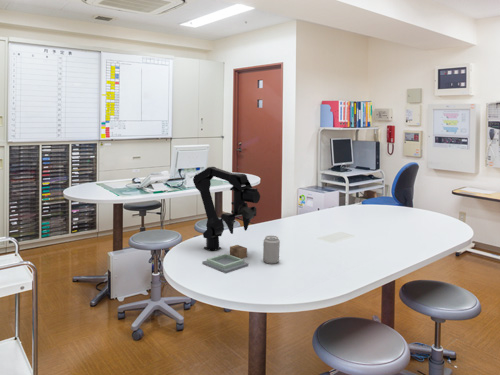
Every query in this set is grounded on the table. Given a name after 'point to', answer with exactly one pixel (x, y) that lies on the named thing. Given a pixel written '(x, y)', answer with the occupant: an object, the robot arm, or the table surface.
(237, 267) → the grey tray
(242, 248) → the brown rectangular block
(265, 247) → the can
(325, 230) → the table surface
